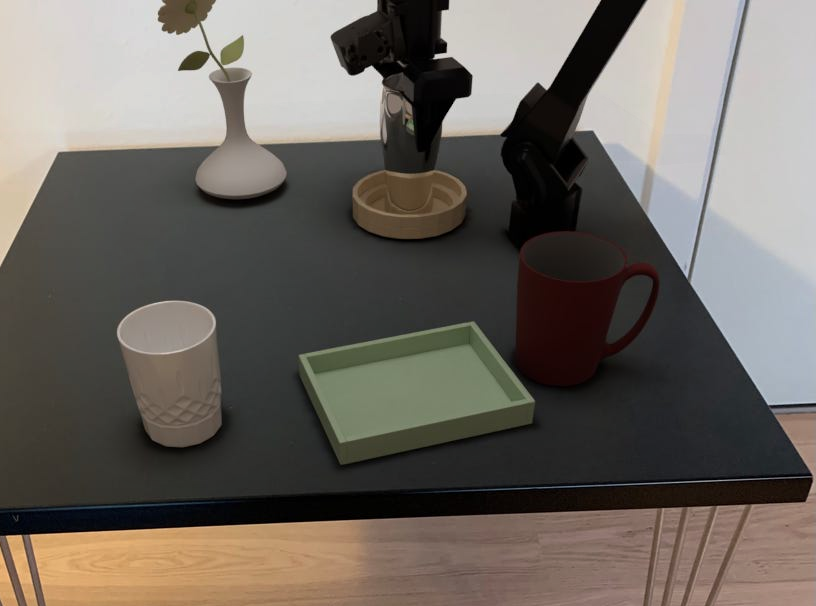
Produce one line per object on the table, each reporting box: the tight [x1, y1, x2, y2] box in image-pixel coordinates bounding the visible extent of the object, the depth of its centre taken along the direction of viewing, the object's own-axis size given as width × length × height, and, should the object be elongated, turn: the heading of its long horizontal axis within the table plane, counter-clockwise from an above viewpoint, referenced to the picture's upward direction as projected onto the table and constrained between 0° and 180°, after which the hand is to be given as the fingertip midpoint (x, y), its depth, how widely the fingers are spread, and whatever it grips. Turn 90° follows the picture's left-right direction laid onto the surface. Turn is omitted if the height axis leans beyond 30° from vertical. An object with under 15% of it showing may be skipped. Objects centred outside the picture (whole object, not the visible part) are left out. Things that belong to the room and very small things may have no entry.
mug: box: [514, 231, 660, 387], centre depth 80 cm, size 12×9×11 cm
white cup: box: [116, 300, 223, 448], centre depth 75 cm, size 8×8×10 cm
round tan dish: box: [352, 169, 468, 240], centre depth 106 cm, size 13×13×3 cm
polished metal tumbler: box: [379, 72, 444, 215], centre depth 102 cm, size 7×7×15 cm
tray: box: [298, 320, 536, 466], centre depth 80 cm, size 17×13×2 cm
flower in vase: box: [157, 0, 288, 200], centre depth 105 cm, size 13×11×25 cm
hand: (410, 139), depth 101 cm, fingers closed on polished metal tumbler, 7 cm apart
